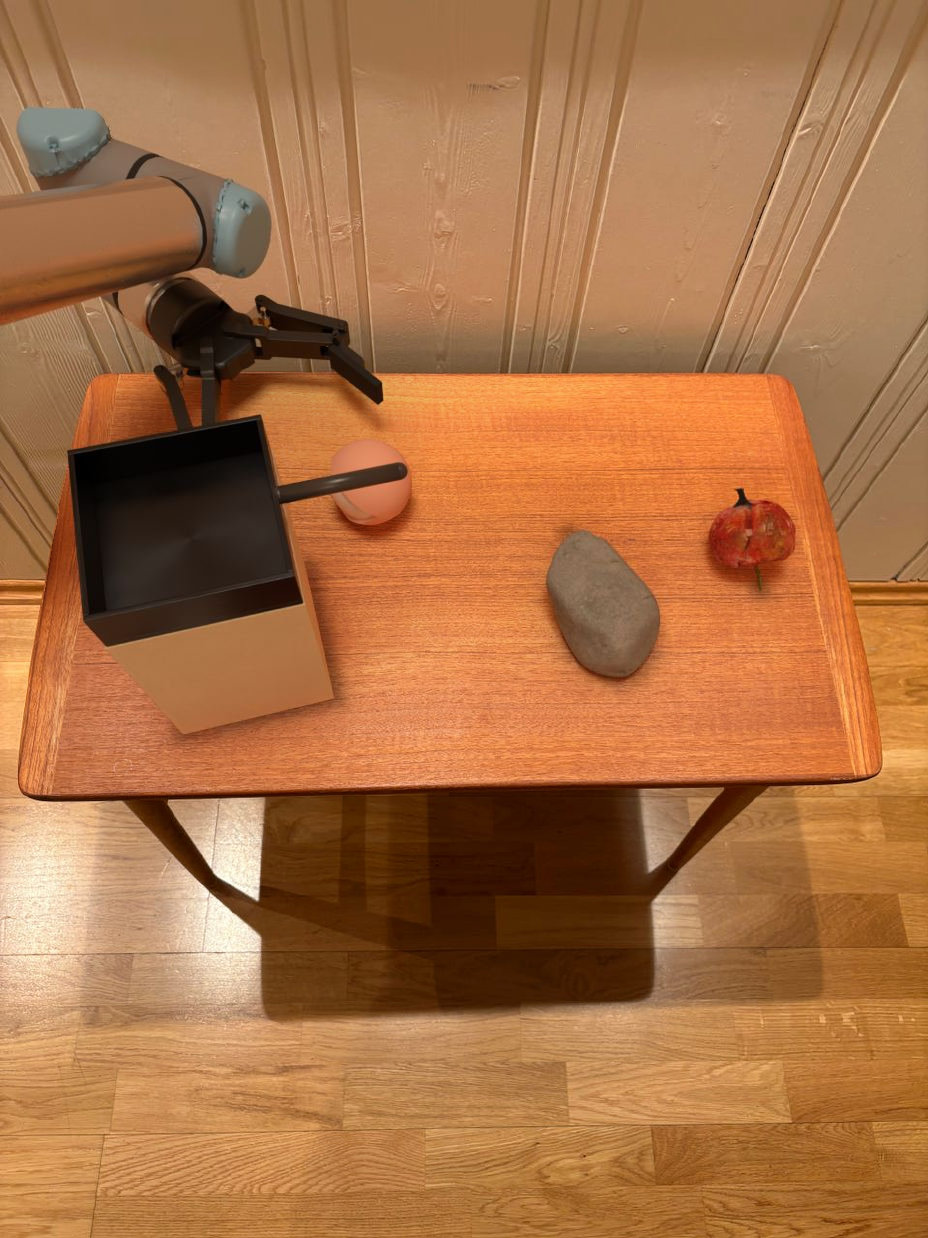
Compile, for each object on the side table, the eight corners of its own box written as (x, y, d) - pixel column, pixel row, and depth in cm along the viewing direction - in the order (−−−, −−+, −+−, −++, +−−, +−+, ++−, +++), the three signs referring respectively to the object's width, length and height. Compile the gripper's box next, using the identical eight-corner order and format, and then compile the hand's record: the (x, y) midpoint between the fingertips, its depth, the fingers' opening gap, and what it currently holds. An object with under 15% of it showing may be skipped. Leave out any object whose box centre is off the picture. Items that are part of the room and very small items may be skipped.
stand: (183, 735, 71) (104, 649, 54) (164, 600, 76) (87, 483, 59) (334, 698, 73) (305, 604, 56) (306, 570, 78) (272, 447, 61)
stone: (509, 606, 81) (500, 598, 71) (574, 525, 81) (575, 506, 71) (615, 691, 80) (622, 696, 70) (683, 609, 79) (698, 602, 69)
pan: (106, 647, 54) (82, 621, 50) (89, 484, 59) (66, 449, 55) (430, 575, 57) (431, 545, 53) (388, 426, 62) (385, 389, 58)
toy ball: (323, 480, 82) (313, 430, 75) (399, 462, 84) (397, 411, 76) (343, 549, 79) (335, 504, 72) (422, 529, 80) (422, 483, 73)
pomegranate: (781, 575, 82) (769, 474, 80) (816, 590, 75) (805, 480, 73) (707, 591, 82) (693, 491, 80) (736, 608, 75) (722, 498, 73)
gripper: (279, 276, 90) (421, 386, 85) (88, 409, 82) (232, 541, 77) (267, 216, 84) (421, 332, 78) (57, 356, 75) (213, 495, 70)
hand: (328, 436), depth 77 cm, fingers open, 13 cm apart
